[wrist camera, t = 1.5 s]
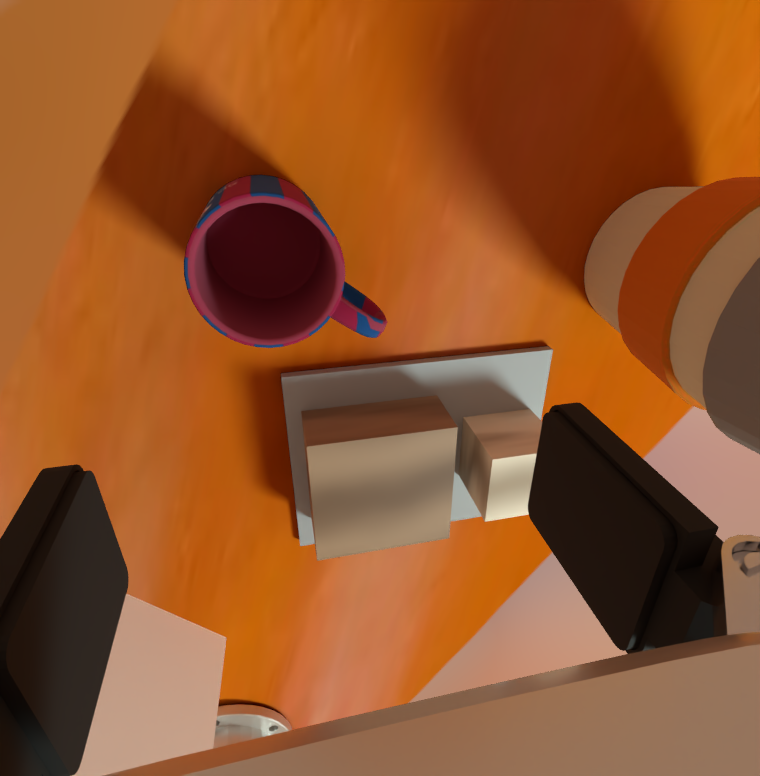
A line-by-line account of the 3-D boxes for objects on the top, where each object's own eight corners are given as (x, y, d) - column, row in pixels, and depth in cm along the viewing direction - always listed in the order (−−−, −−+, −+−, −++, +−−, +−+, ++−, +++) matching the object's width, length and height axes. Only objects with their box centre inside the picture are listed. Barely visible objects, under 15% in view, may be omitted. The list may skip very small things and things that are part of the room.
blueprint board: (522, 504, 41) (525, 509, 41) (299, 540, 38) (300, 546, 37) (548, 346, 35) (552, 349, 34) (280, 373, 31) (281, 377, 31)
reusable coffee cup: (653, 108, 29) (981, 104, 16) (768, 221, 34) (1088, 288, 21) (520, 299, 32) (695, 421, 20) (642, 374, 38) (844, 511, 25)
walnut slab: (431, 499, 38) (449, 538, 35) (311, 518, 36) (317, 560, 33) (437, 395, 34) (457, 427, 30) (301, 411, 32) (306, 446, 29)
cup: (245, 144, 25) (243, 154, 19) (394, 265, 30) (428, 302, 24) (174, 253, 27) (152, 292, 21) (325, 351, 31) (341, 406, 25)
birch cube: (521, 465, 38) (554, 509, 34) (458, 474, 37) (484, 521, 33) (530, 408, 36) (567, 448, 32) (463, 417, 35) (492, 459, 31)
